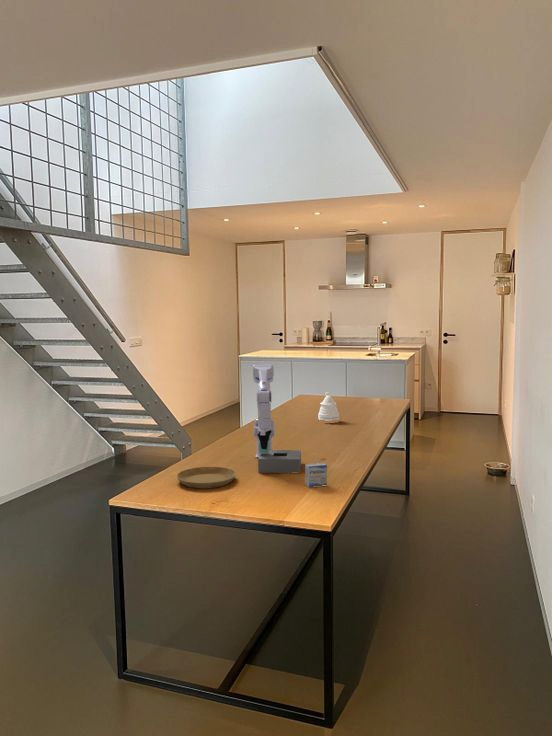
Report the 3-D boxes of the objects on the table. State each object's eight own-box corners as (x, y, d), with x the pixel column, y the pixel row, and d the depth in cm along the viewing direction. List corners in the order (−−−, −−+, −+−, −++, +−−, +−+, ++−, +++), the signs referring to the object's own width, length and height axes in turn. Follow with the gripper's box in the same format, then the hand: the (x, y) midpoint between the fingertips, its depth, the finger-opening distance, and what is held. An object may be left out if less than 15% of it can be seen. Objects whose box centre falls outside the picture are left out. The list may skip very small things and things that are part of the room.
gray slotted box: (261, 462, 264) (261, 449, 263) (301, 463, 263) (301, 450, 262) (258, 472, 248) (258, 458, 248) (299, 473, 247) (299, 459, 246)
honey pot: (314, 421, 360) (314, 392, 358) (332, 419, 365) (332, 391, 363) (324, 424, 348) (324, 395, 346) (342, 422, 354) (343, 393, 352)
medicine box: (308, 488, 226) (308, 466, 225) (304, 484, 230) (304, 463, 230) (327, 486, 228) (327, 464, 227) (323, 483, 233) (323, 462, 232)
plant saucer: (207, 470, 254) (207, 462, 253) (248, 480, 238) (247, 472, 238) (164, 483, 235) (164, 475, 235) (205, 495, 220) (205, 486, 220)
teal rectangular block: (260, 451, 257) (260, 440, 257) (269, 451, 257) (269, 440, 256) (259, 453, 253) (259, 442, 253) (268, 453, 253) (268, 442, 252)
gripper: (257, 414, 261) (257, 443, 262) (253, 420, 247) (253, 451, 248) (272, 414, 260) (273, 444, 262) (269, 421, 246) (270, 452, 248)
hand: (264, 447), depth 255 cm, fingers closed on teal rectangular block, 4 cm apart
